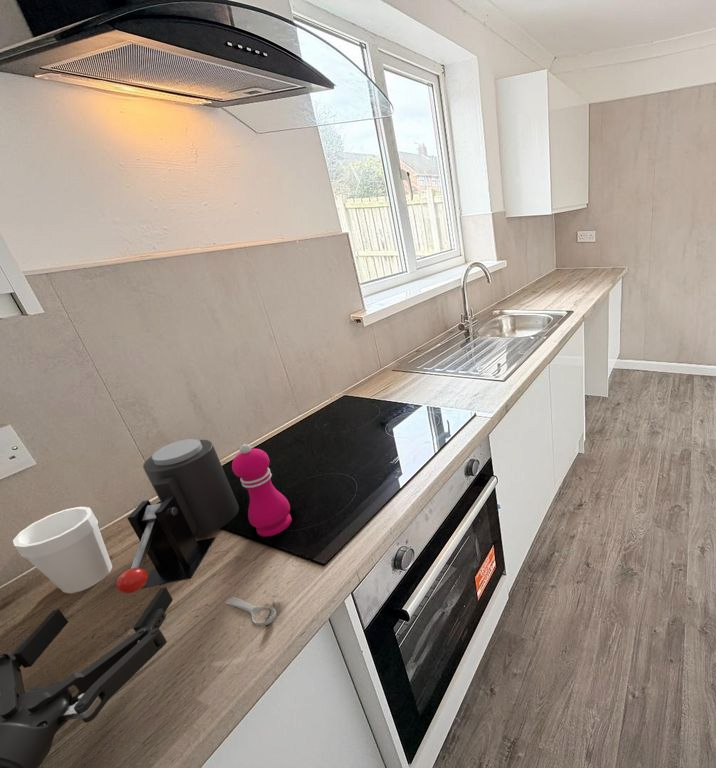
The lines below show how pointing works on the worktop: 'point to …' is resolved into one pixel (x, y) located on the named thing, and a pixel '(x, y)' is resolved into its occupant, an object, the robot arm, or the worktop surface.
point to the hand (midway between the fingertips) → (114, 604)
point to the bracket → (170, 543)
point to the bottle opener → (252, 609)
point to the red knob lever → (140, 555)
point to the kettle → (193, 484)
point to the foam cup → (66, 549)
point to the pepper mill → (261, 492)
